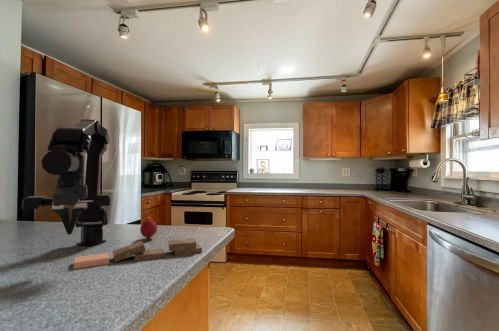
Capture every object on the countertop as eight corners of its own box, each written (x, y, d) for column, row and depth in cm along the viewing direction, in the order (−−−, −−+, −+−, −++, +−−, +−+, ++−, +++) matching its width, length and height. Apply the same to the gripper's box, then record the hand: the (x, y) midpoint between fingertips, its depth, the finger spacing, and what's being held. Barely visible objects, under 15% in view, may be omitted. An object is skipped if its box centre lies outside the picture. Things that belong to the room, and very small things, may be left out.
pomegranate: (151, 241, 92) (151, 218, 92) (136, 240, 93) (137, 218, 93) (159, 237, 98) (160, 216, 98) (146, 236, 99) (146, 215, 99)
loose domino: (73, 262, 65) (109, 257, 69) (75, 257, 70) (108, 252, 74) (73, 270, 65) (109, 265, 69) (75, 264, 70) (108, 259, 74)
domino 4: (175, 250, 76) (201, 247, 80) (173, 246, 81) (198, 243, 84) (175, 257, 76) (201, 254, 80) (173, 252, 81) (198, 249, 84)
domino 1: (113, 255, 70) (143, 244, 74) (112, 251, 74) (141, 240, 78) (115, 262, 70) (145, 250, 74) (114, 257, 74) (143, 246, 78)
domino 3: (169, 244, 76) (196, 242, 79) (168, 240, 81) (194, 238, 83) (169, 251, 76) (196, 248, 79) (168, 246, 81) (194, 244, 83)
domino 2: (134, 255, 71) (164, 252, 75) (134, 251, 76) (163, 248, 79) (134, 263, 71) (164, 259, 74) (134, 257, 76) (162, 254, 79)
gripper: (13, 175, 56) (11, 246, 56) (109, 175, 65) (108, 237, 64) (30, 174, 66) (28, 235, 66) (111, 174, 75) (110, 228, 74)
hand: (69, 234), depth 67 cm, fingers closed
